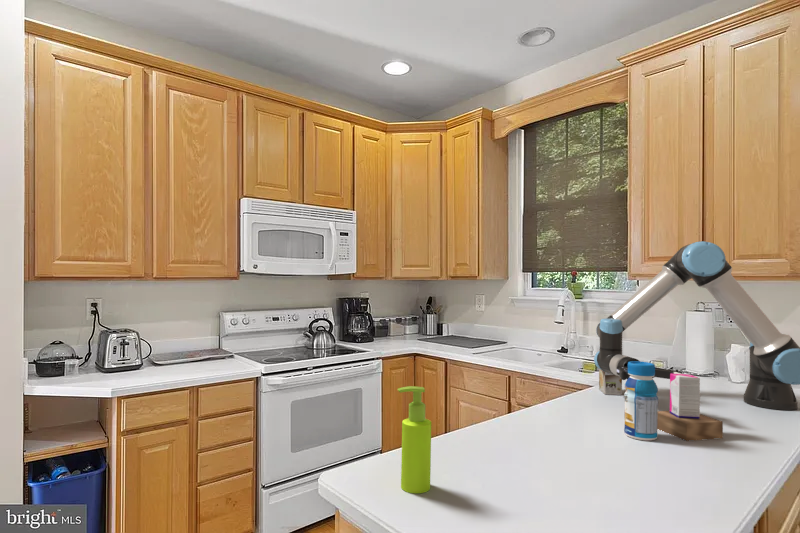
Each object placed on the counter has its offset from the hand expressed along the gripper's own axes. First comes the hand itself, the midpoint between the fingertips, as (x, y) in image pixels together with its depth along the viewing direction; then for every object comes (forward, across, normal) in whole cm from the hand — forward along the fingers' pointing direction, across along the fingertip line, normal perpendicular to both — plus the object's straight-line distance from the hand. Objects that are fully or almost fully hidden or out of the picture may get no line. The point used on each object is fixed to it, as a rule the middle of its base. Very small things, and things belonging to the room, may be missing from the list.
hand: (669, 380), depth 144 cm
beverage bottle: (+9, +15, -13) cm, 22 cm away
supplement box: (+6, 0, -9) cm, 11 cm away
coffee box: (-41, -6, -13) cm, 43 cm away
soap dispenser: (+36, +82, -13) cm, 91 cm away
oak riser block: (+7, -1, -14) cm, 15 cm away
